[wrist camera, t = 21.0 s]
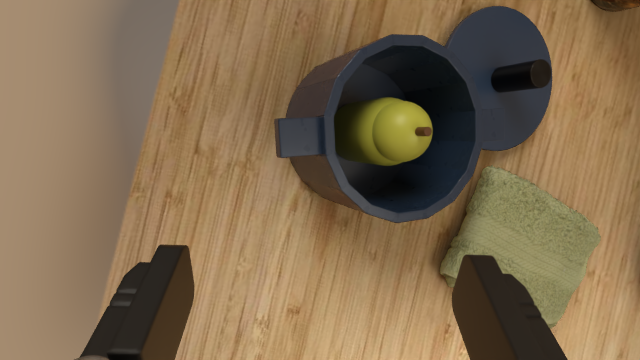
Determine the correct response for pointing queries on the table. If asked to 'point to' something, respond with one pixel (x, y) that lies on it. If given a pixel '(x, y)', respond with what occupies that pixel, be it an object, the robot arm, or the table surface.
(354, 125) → the pear
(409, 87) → the pot
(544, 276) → the washcloth
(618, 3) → the jar
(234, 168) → the table surface
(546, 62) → the lid
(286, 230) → the table surface
